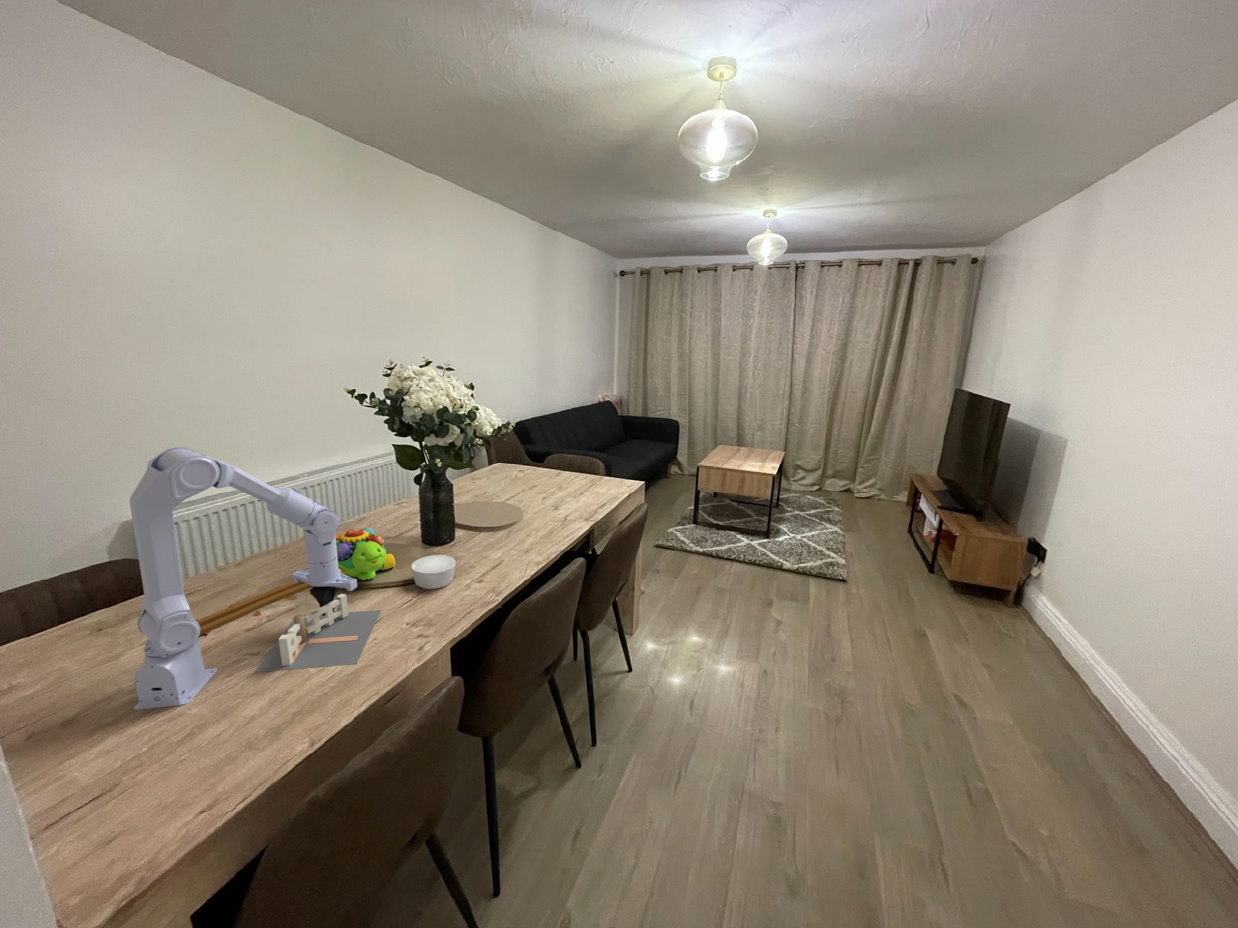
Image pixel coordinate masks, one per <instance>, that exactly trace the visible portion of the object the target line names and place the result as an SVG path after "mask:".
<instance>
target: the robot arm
mask: <svg viewBox="0 0 1238 928" xmlns="http://www.w3.org/2000/svg"><path fill="white" fill-rule="evenodd" d="M211 487H213V488H215V489H223V488H224V489H225V488H228V487H230V488H233V489H235V490H238V491H240V492H242V493H245V494H247V495H249V496H251V497H253V498H255V499H258V500H260V501H262V502H264V503H265V505H266V509H267V512H269V513H270V514H272V515H274V516H277V517H279V518H280V519H283V520H286V521H288V522H290V523H292V524H293V525H296V526H298V527H300V528H303V529H304V530H303V534H304V535H303V536H304V546H305V551H306V552H305V555H306V561H307V562H306V563H307V570H297V571H295V572H294V573H292V574H291V576H292V581H293V582H299V581H302V582H305V583H307V584H309V585H311V586H313V587H311V589H310V588H309V594H310V595H311V596H313V598H314V599H315V600H316V601H317V603H318V604H319V608H321V607H323V606H325V605H326V604H328V603H330V602H332V601H334V600H335V596H336V594H337V592H338V590H339V588H341V589H346V591H348V592H352V591H354V590H355V589H356V588H358V582H357V581H358V578H357V579H356V578H354V577H348V576H346V575H344V574H342V573H340V572H341V570H340V569H339V568H338V557H337V547H336V537H335V535H336V531H337V529H338V527H339V526H340V522H341V521H340V518H339V517H338V515H337V513H336V512H335V511H334V510H333V509H330V508H328V507H325V506H324V505H321V501H320V500H317V499H315V498H314V499H311V498H309V497H307V496H306V495H303V494H302V490H300V489H298V488H297V487H294V486H293V487H291V488H290V487H288V486H287V487H285V486H284V487H279V488H275V487H273V486H271V485H269V484H267V483H266V482H264V481H262V480H260V479H259V478H256V477H255V476H254V475H251V474H249V473H248V472H246V471H244V470H243V469H241V468H239V467H237V466H235V465H233V464H230V463H228V462H226V461H223V460H220V459H217V458H215V457H212V456H209V455H207V454H202V453H201V454H199V453H198V452H196V451H194V450H193V449H191V448H188V447H184V446H175V447H170V448H168V449H165V450H163V451H161V452H160V453H159V454H157V455H155V457H153V458H152V459H150V460H149V461H148V463H147V468H146V470H145V473H144V474H143V476H142V477H141V479H140V481H139V483H138V484H137V486H136V488H135V489H134V491H133V493H132V494H131V496H130V498H129V507H130V514H131V518H132V519H131V520H132V525H133V533H134V539H135V544H136V551H137V556H138V562H139V569H140V575H141V577H140V578H141V581H142V587H143V595H144V598H143V599H142V601H141V613H140V614H139V617H138V618H137V622H136V625H137V629H138V631H139V632H140V633H141V634H142V635H144V636H145V637H146V638H147V639H146V642H145V645H144V648H143V651H144V658H143V662H142V664H141V665H140V667H139V668H138V670H137V671H136V672H135V674H134V676H133V677H134V678H133V682H134V687H135V691H136V694H137V695H136V696H137V700H138V702H137V704H136V705H135V706H134V707H133V708H134V710H145V709H156V708H167V707H178V706H187V705H188V704H189V703H191V701H193V699H194V698H195V697H196V695H197V694H198V693H199V692H200V691H201V690H202V689H203V688H204V686H206V683H208V682H209V680H211V678H212V677H213V676H214V675H215V673H217V671H218V669H217V668H205V664H204V659H203V653H202V648H201V643H200V638H199V637H200V636H201V635H200V625H199V624H198V622H197V621H196V620H195V619H194V617H193V615H192V610H191V607H190V606H189V605H190V604H189V602H188V601H187V598H186V596H185V591H184V584H183V577H182V571H181V563H180V555H179V549H178V542H177V534H176V528H175V521H174V513H173V511H174V510H175V509H176V508H177V507H178V506H179V505H180V504H182V502H183V503H184V501H185V500H187V499H189V498H192V497H193V496H196V495H198V494H201V493H202V492H204V491H206V490H208V489H210V488H211ZM332 609H333V612H334V611H335V607H334V608H332ZM322 616H325V613H323V614H322ZM199 635H200V636H199Z"/></svg>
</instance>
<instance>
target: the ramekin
mask: <svg viewBox="0 0 1238 928" xmlns="http://www.w3.org/2000/svg"><path fill="white" fill-rule="evenodd" d="M456 564H457V561H456V560H455V559H454V558H453V557H451V556H449V555H445V554H444V555H443V554H434V555H428V556H427V555H426V556H424V557H421V558H419V559H417V560H414V562H412V564H411V565H410V569H411V572H412V574H413V580H414V583H415V584H416V586H418V587H419V588H421V589H425V590H436V589H440V588H444V587H446V586H447V585H450V583H451V582H452V581H453V579H454V577H455V576H454V574H455V568H456Z"/></svg>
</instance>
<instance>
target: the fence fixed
mask: <svg viewBox="0 0 1238 928" xmlns="http://www.w3.org/2000/svg"><path fill="white" fill-rule="evenodd" d="M304 615H305V614H298V615H295V616H294V617H293V620H294V625H293V627H292V628H290V629H289V630H288V633H287V635H283V634H281V635H280V637H279V638H278V640H279V646H280V653H281V660H282V666H288V665H291V664H292V662H293V655H296V653H297V652H298V645H299V644H304V643H306V642H307V636H306V628H305V620H304Z"/></svg>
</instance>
